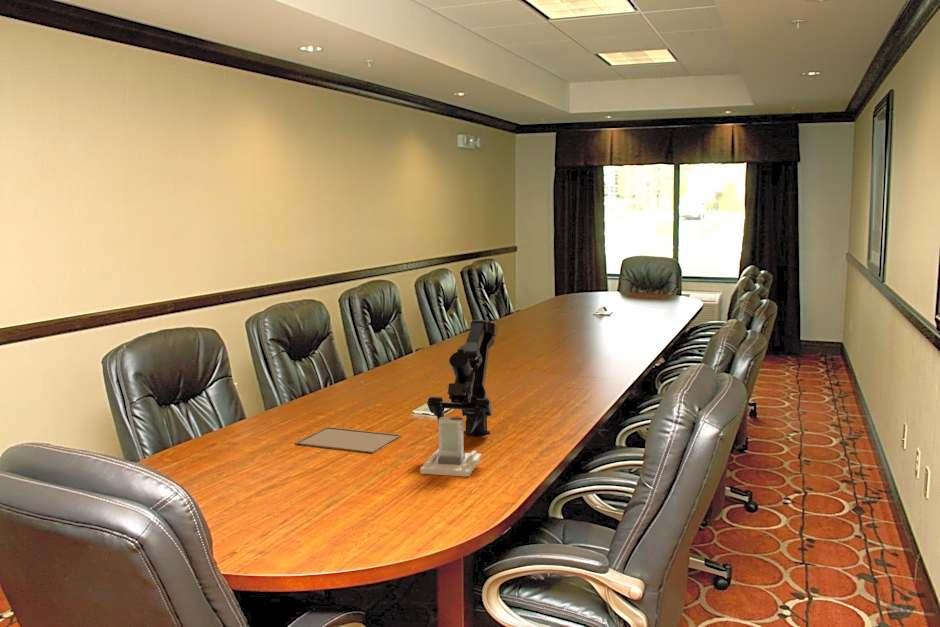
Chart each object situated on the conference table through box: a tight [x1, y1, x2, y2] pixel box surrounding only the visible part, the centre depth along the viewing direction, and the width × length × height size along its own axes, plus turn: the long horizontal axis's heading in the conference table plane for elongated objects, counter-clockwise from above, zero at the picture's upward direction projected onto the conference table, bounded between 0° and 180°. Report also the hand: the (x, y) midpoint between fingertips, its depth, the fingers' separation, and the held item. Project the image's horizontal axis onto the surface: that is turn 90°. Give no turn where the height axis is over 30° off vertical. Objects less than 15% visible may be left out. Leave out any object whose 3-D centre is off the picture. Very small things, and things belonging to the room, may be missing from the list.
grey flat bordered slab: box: [294, 426, 403, 454], centre depth 266 cm, size 19×1×28 cm
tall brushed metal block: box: [437, 416, 466, 465], centre depth 239 cm, size 6×6×12 cm
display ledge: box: [419, 448, 482, 477], centre depth 240 cm, size 16×14×3 cm
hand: (455, 431), depth 244 cm, fingers open, 9 cm apart
